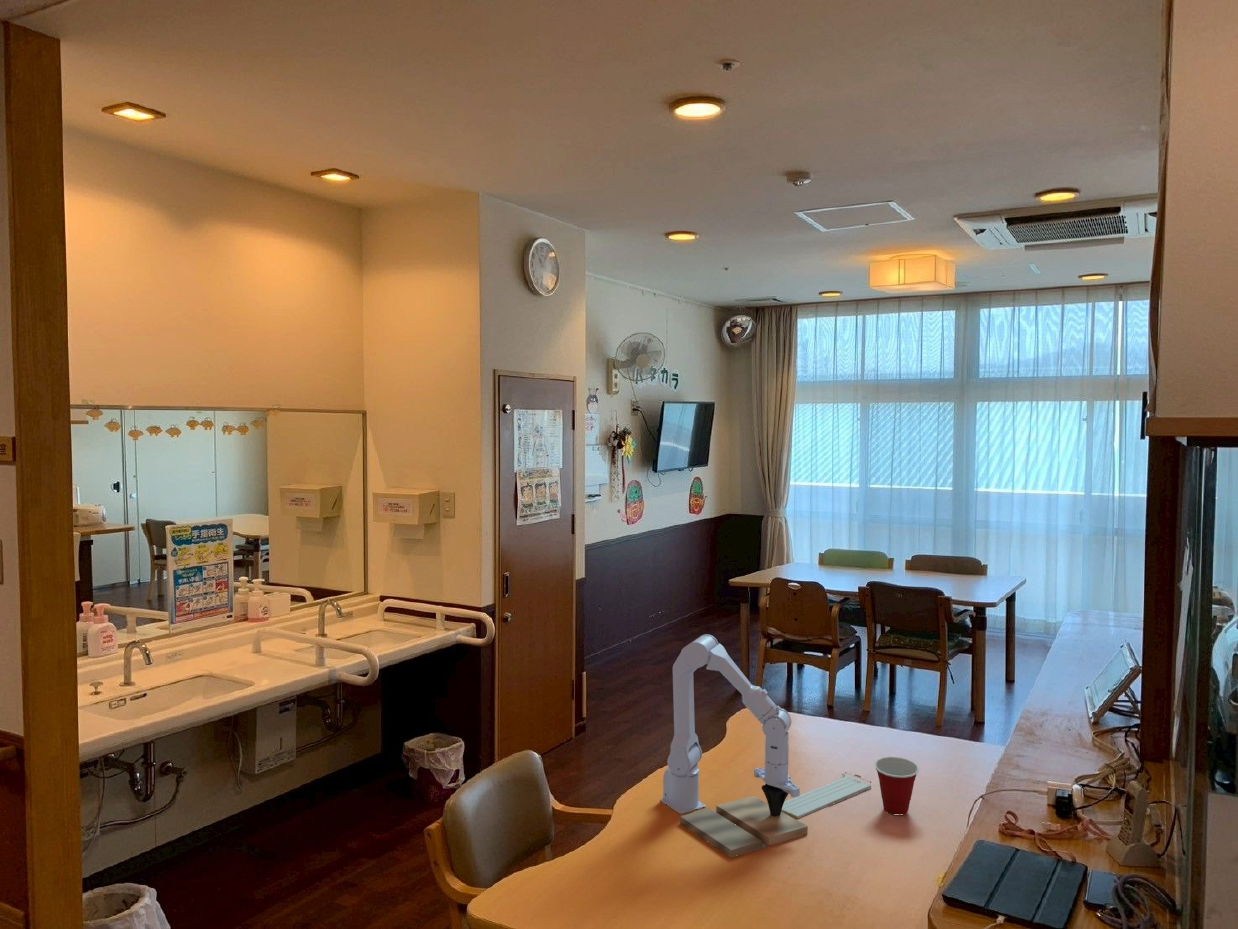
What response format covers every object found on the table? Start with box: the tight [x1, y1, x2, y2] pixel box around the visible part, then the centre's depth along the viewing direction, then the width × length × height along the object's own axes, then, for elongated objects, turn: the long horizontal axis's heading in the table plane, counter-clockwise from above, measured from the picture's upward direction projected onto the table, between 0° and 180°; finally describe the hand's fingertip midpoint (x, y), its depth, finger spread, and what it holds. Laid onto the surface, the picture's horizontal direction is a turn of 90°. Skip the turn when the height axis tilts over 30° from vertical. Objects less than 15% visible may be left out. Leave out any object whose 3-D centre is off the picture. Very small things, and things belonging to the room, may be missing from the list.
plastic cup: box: [873, 756, 920, 815], centre depth 228 cm, size 11×11×12 cm
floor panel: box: [679, 808, 768, 859], centre depth 214 cm, size 20×10×2 cm, turn 31°
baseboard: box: [781, 771, 872, 820], centre depth 236 cm, size 30×3×10 cm
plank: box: [715, 795, 809, 846], centre depth 221 cm, size 20×12×2 cm, turn 31°
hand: (775, 815), depth 221 cm, fingers closed, pressing on plank
